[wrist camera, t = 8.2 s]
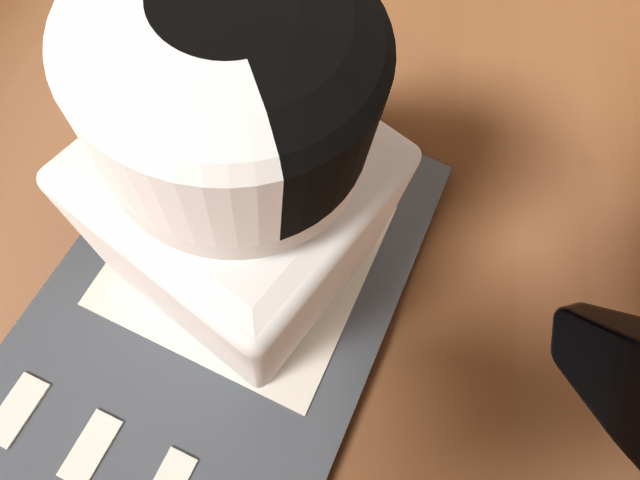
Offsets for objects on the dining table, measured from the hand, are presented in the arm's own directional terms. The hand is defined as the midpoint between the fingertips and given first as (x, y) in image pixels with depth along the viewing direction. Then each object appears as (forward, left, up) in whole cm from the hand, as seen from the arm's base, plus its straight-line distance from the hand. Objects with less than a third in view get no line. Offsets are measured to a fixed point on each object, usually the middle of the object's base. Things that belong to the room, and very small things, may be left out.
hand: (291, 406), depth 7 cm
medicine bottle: (+4, -5, -10) cm, 12 cm away
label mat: (+4, -4, -11) cm, 12 cm away
